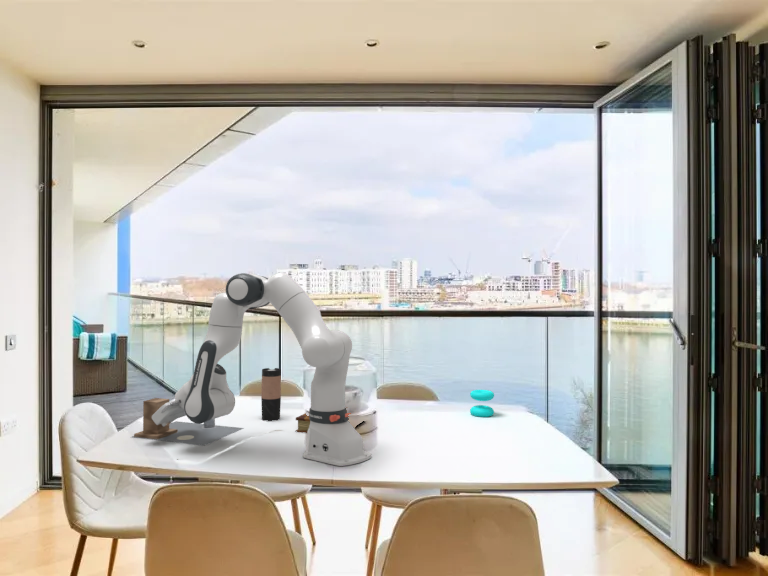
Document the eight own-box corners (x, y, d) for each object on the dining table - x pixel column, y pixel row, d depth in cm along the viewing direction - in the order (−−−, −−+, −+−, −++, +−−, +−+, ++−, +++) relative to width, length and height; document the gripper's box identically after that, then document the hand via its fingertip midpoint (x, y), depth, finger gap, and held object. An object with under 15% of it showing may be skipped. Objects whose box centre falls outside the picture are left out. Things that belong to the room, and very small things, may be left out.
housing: (177, 432, 197) (177, 398, 197) (158, 439, 187) (158, 404, 187) (154, 429, 200) (154, 396, 200) (134, 436, 190) (134, 401, 190)
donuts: (495, 390, 237) (492, 394, 227) (495, 413, 237) (492, 418, 227) (472, 388, 240) (468, 392, 230) (472, 411, 240) (468, 416, 230)
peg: (216, 426, 204) (217, 399, 204) (206, 428, 202) (207, 401, 202) (211, 425, 207) (211, 398, 207) (201, 426, 204) (201, 399, 204)
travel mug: (270, 422, 217) (270, 371, 217) (257, 419, 221) (257, 369, 221) (284, 418, 223) (285, 369, 223) (271, 415, 227) (272, 367, 227)
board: (244, 430, 203) (244, 428, 203) (204, 448, 181) (204, 445, 181) (176, 423, 212) (176, 421, 212) (129, 440, 190) (129, 437, 190)
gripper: (174, 411, 179) (148, 438, 182) (211, 399, 198) (188, 424, 201) (162, 396, 180) (137, 424, 183) (201, 386, 200) (178, 411, 203)
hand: (164, 424), depth 192 cm, fingers closed, pressing on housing
